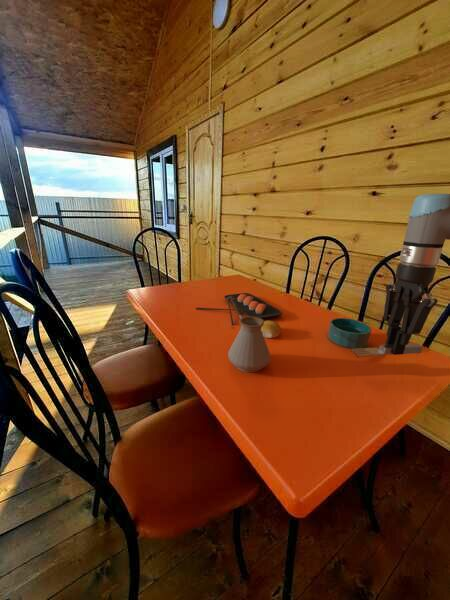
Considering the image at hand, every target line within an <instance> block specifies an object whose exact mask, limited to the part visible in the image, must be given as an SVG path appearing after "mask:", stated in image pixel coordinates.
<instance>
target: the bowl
mask: <svg viewBox="0 0 450 600" xmlns="http://www.w3.org/2000/svg"><path fill="white" fill-rule="evenodd" d="M371 335H372V328H371V326H370V325H368V324H367V323H365V322H362V321H360V320H357V319H353V318H347V317H336V318H332V319H331V320H330V321H329V324H328V329H327V339H329V340H330V341H331V342H332V343H335V344H336V345H338V346H340V347H344V348H347V349H359V348H368V345H369V342H370V339H371Z"/></svg>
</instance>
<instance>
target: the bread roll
mask: <svg viewBox="0 0 450 600" xmlns="http://www.w3.org/2000/svg"><path fill="white" fill-rule="evenodd" d="M261 331H262V333H263V336H264V339H275V338H277V337H278V336H280V334H281V332H282V327H281V326H280V324H278V323H277V322H276V321H273V320H264V325H263V326H262V327H261Z"/></svg>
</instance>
